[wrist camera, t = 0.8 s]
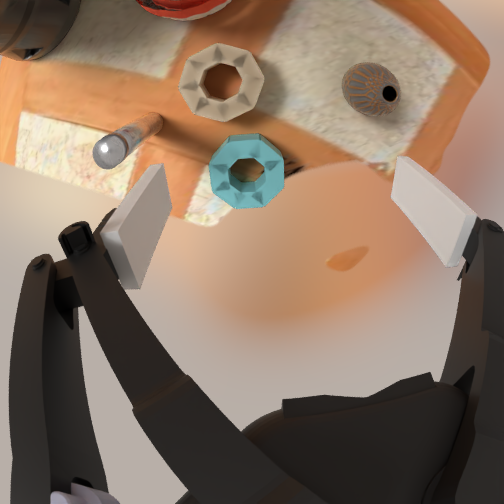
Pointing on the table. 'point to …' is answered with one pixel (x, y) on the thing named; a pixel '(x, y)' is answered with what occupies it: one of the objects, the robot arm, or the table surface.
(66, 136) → the table surface
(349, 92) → the vase
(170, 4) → the toy
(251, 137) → the bead teal
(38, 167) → the table surface
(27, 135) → the table surface
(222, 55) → the bead birch
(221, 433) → the robot arm
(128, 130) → the capped vial
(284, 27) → the table surface
